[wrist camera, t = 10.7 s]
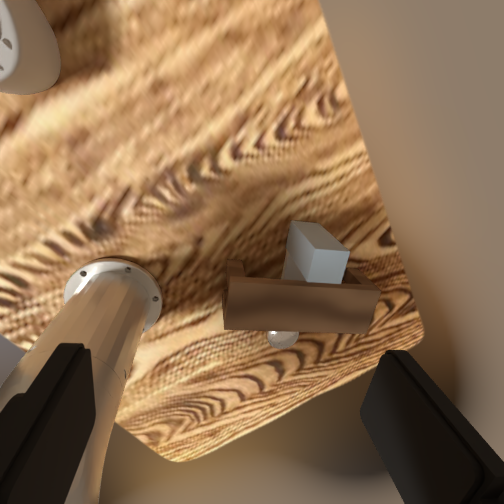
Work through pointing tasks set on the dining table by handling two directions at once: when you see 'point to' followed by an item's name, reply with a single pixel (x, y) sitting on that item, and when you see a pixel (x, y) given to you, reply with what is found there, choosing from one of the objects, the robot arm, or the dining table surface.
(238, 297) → the stand
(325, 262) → the grey block
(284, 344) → the token
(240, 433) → the dining table surface
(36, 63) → the lumpy-topped squat cylinder
